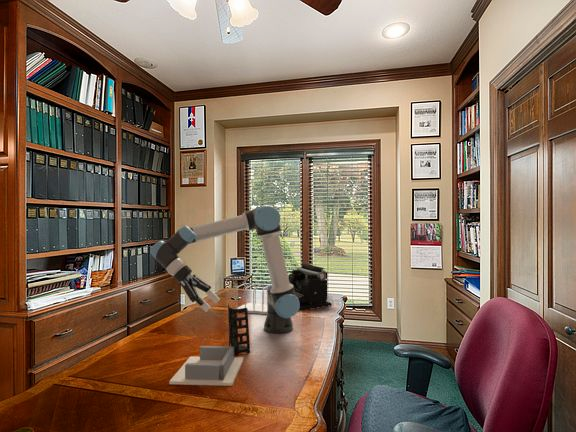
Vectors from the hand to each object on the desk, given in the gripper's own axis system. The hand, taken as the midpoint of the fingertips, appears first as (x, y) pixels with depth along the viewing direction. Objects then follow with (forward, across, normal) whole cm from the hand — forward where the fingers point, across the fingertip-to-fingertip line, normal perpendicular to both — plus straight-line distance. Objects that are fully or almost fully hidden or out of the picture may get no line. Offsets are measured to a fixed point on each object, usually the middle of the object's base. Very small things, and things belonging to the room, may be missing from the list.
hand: (213, 305), depth 137 cm
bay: (+17, +18, -11) cm, 27 cm away
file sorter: (+22, -64, -7) cm, 68 cm away
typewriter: (+41, -82, +12) cm, 92 cm away
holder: (+22, 0, -6) cm, 23 cm away
